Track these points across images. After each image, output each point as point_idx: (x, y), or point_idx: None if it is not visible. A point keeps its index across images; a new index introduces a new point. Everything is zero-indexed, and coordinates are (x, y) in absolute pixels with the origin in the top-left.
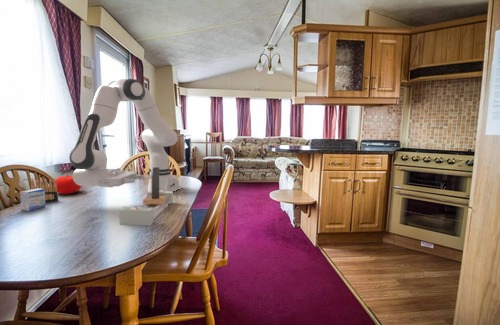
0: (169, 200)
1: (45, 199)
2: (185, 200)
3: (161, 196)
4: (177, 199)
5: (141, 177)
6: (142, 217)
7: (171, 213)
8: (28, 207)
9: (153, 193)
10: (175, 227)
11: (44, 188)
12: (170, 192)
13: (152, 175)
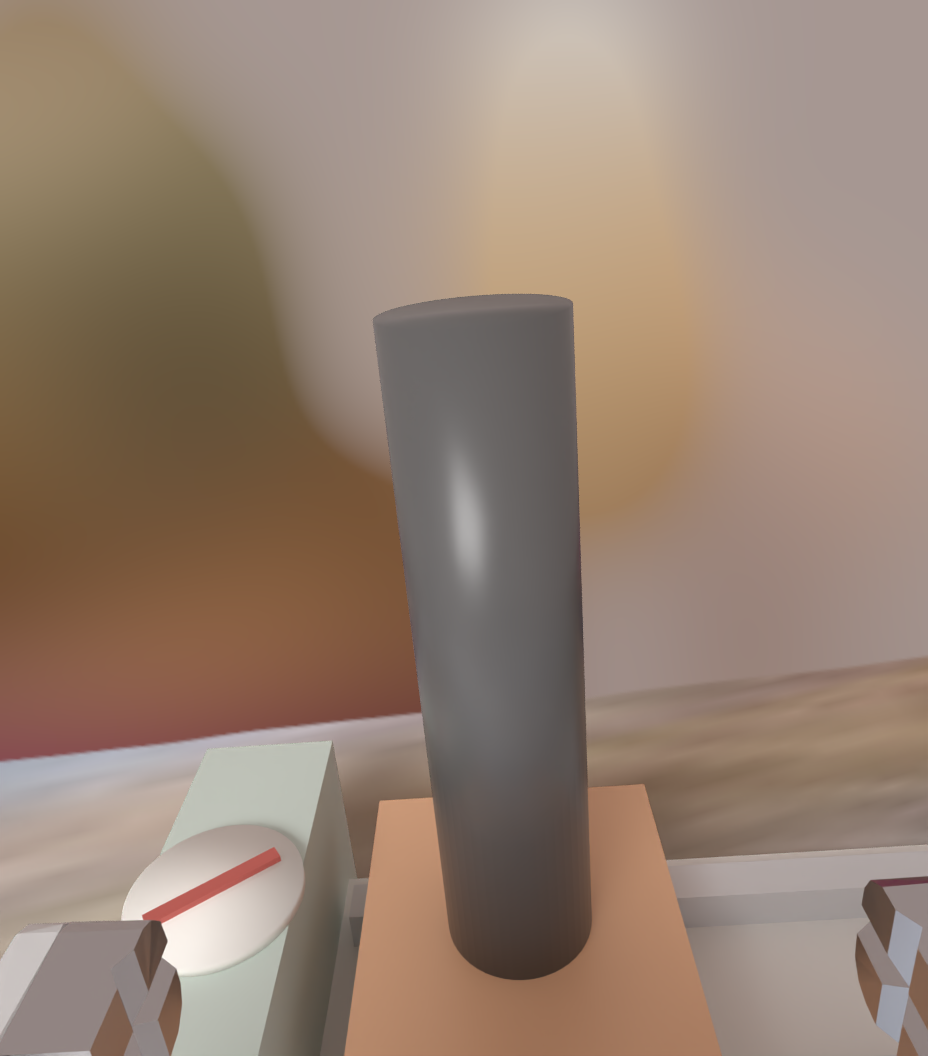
0: (347, 849)
1: None
2: (151, 791)
3: (401, 864)
4: (60, 887)
5: (162, 953)
6: None
7: (732, 777)
8: None
9: (588, 843)
10: None
11: None
12: (273, 758)
13: (573, 505)
